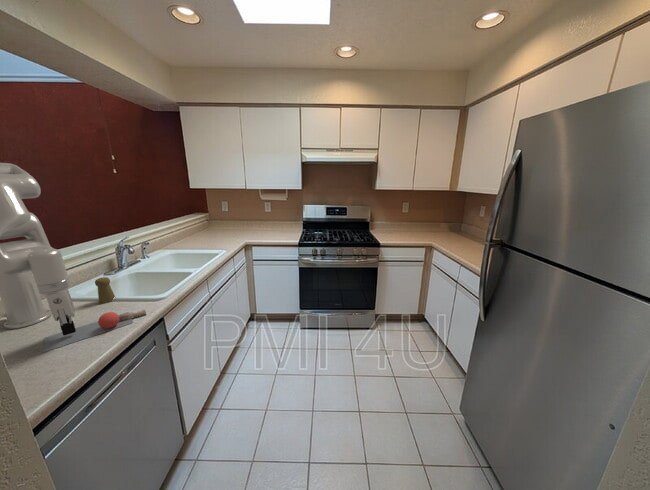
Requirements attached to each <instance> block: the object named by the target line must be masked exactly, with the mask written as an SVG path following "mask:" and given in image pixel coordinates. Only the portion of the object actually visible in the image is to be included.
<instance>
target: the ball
mask: <svg viewBox="0 0 650 490" xmlns="http://www.w3.org/2000/svg"><path fill="white" fill-rule="evenodd" d="M118 315H119V314H118V313H116V312H112V311H108V312H104V313H103V314H102V315H100V316H99V318H98V320H97V321H98V324H99V326H100V327H102V328H104V329H109V328H113V327H114V326H116V325H117V324H118V322H119V316H118Z"/></svg>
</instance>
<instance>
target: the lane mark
mask: <svg viewBox="0 0 650 490" xmlns="http://www.w3.org/2000/svg"><path fill="white" fill-rule="evenodd" d="M127 313H130V312H129V311H127V312H124V313H120V314H117V315H118V316H120V315H123V314H127ZM133 323H134V321H133V318H131V319H127V320H124V321H120V320H119V322H118V324H117V325H116V326H114V327H113V328H109V329H104V328H102V327H100V326H99V324H98V320H97V321H94V322H90V323H88V324H85V325H81V326H78V327H75V329H76V332H74V333H71V334H68V335H65V336H64V335H63V333H62V331H61V332H58V333H55V334H52V335H48V336H45V337H44V344H43V353H48V352H49V351H53V350H55V349H59V348H62V347H65V346H68V345H70V344H74V343H76V342H80V341H83V340H86V339H89V338H92V337H94V336H95V337H96V336H97V335H101V334H103V333H107V332H110V331H113V330H116V329H119V328H122V327H125V326H128V325H131V324H133Z"/></svg>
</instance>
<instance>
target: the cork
mask: <svg viewBox="0 0 650 490" xmlns="http://www.w3.org/2000/svg"><path fill="white" fill-rule="evenodd" d="M110 284H111V279H110V278H109V277H107V276H103V277H99V278H97V279H95V280H94V285H95V286H96V287H97V295H98V304H100V305H102V304H103V305H104V304H109V303H112V302H113V301H112V300H113V298H114V297H115V298H116V296H115V294H114V293H115V292H114V291H113V289H112V287H111V285H110Z"/></svg>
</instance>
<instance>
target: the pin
mask: <svg viewBox="0 0 650 490" xmlns="http://www.w3.org/2000/svg"><path fill="white" fill-rule="evenodd" d="M126 313H127V312H126ZM122 314H123V313H122ZM119 315H120V314H119ZM146 315H147V312H146V308H142V309H139V310H135V311H131V312H129V313H127V314H123V315H120V316H119V320H120V321H124V320H127V319H131V318H132V319H134V318H138V317H139V318H140V317H142V316H146Z"/></svg>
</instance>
